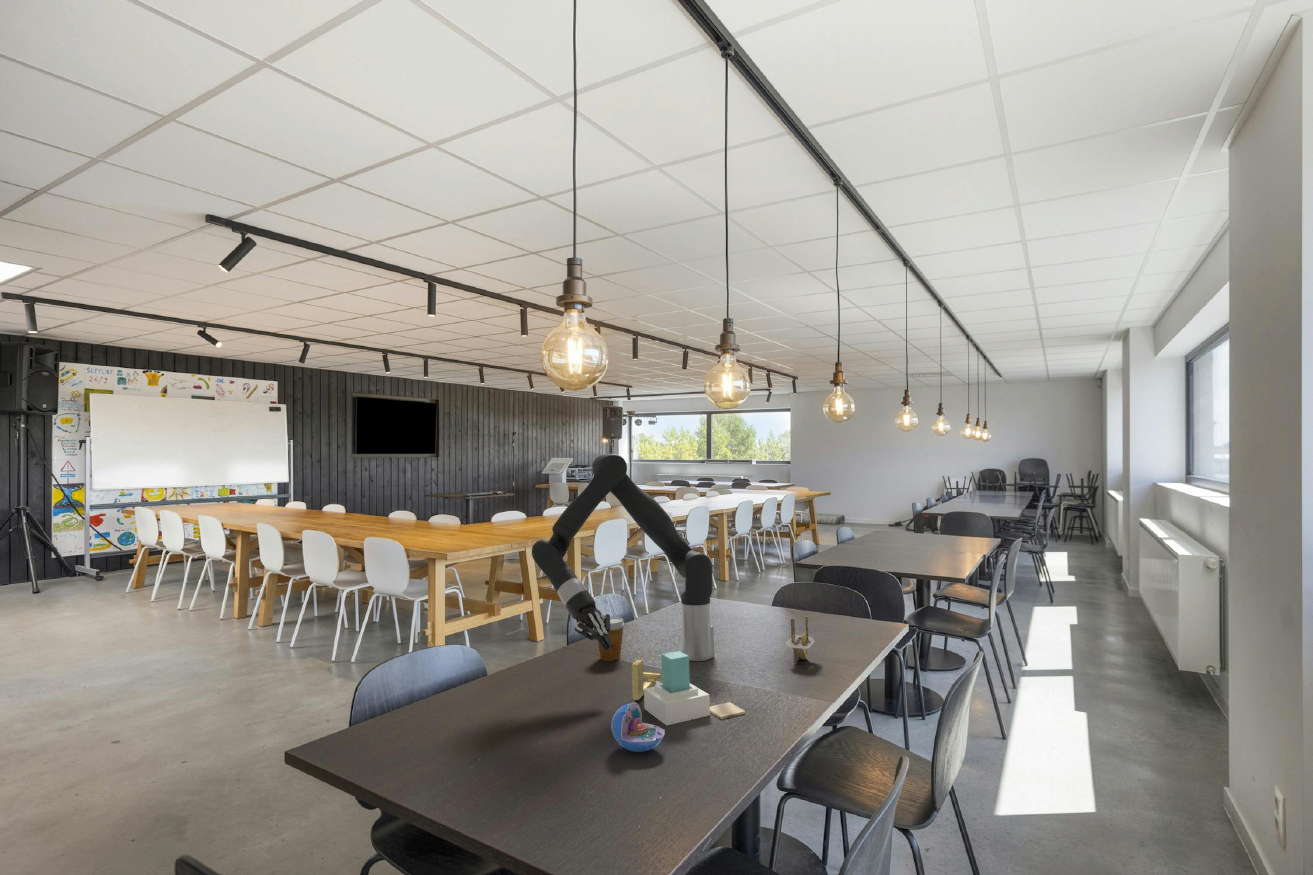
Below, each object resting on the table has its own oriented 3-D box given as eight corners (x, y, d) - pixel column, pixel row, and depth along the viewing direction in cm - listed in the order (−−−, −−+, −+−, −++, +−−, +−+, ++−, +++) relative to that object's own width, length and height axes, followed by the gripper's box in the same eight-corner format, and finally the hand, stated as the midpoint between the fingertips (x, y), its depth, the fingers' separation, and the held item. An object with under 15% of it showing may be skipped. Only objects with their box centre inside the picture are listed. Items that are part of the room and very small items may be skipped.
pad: (729, 704, 164) (729, 701, 164) (745, 713, 158) (745, 711, 158) (706, 709, 161) (706, 707, 161) (721, 719, 155) (721, 716, 155)
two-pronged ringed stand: (842, 655, 204) (840, 610, 205) (830, 680, 181) (828, 630, 182) (776, 649, 213) (775, 606, 213) (757, 672, 190) (755, 624, 190)
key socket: (656, 680, 183) (656, 679, 183) (666, 687, 178) (666, 685, 178) (637, 684, 181) (637, 683, 181) (646, 691, 175) (646, 689, 175)
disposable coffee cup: (627, 653, 210) (626, 616, 211) (622, 662, 201) (621, 623, 201) (598, 653, 211) (597, 616, 212) (592, 662, 202) (591, 623, 202)
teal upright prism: (680, 686, 164) (679, 650, 164) (689, 692, 159) (688, 655, 160) (662, 690, 161) (661, 653, 162) (672, 696, 157) (671, 659, 157)
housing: (685, 699, 168) (685, 675, 168) (710, 715, 158) (709, 689, 158) (644, 708, 163) (643, 683, 163) (666, 725, 152) (665, 698, 152)
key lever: (644, 681, 181) (644, 648, 182) (661, 682, 180) (660, 649, 180) (626, 699, 168) (625, 663, 168) (644, 701, 166) (643, 665, 167)
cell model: (653, 763, 133) (652, 716, 133) (603, 754, 138) (602, 708, 138) (673, 744, 142) (672, 700, 142) (625, 735, 147) (624, 693, 147)
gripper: (566, 593, 175) (600, 646, 167) (598, 585, 185) (632, 634, 178) (552, 611, 178) (586, 663, 170) (585, 602, 188) (618, 651, 181)
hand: (610, 648), depth 174 cm, fingers closed
